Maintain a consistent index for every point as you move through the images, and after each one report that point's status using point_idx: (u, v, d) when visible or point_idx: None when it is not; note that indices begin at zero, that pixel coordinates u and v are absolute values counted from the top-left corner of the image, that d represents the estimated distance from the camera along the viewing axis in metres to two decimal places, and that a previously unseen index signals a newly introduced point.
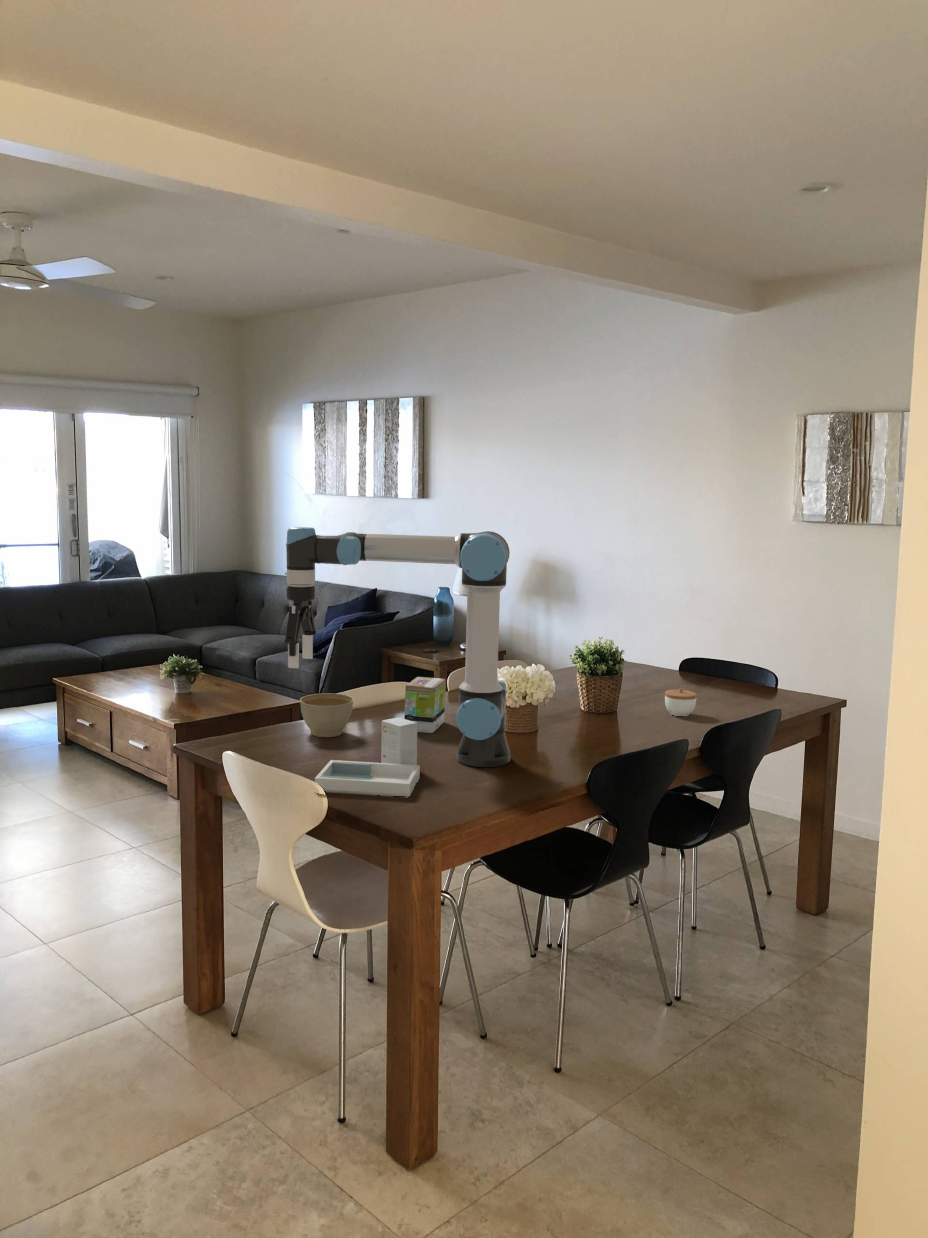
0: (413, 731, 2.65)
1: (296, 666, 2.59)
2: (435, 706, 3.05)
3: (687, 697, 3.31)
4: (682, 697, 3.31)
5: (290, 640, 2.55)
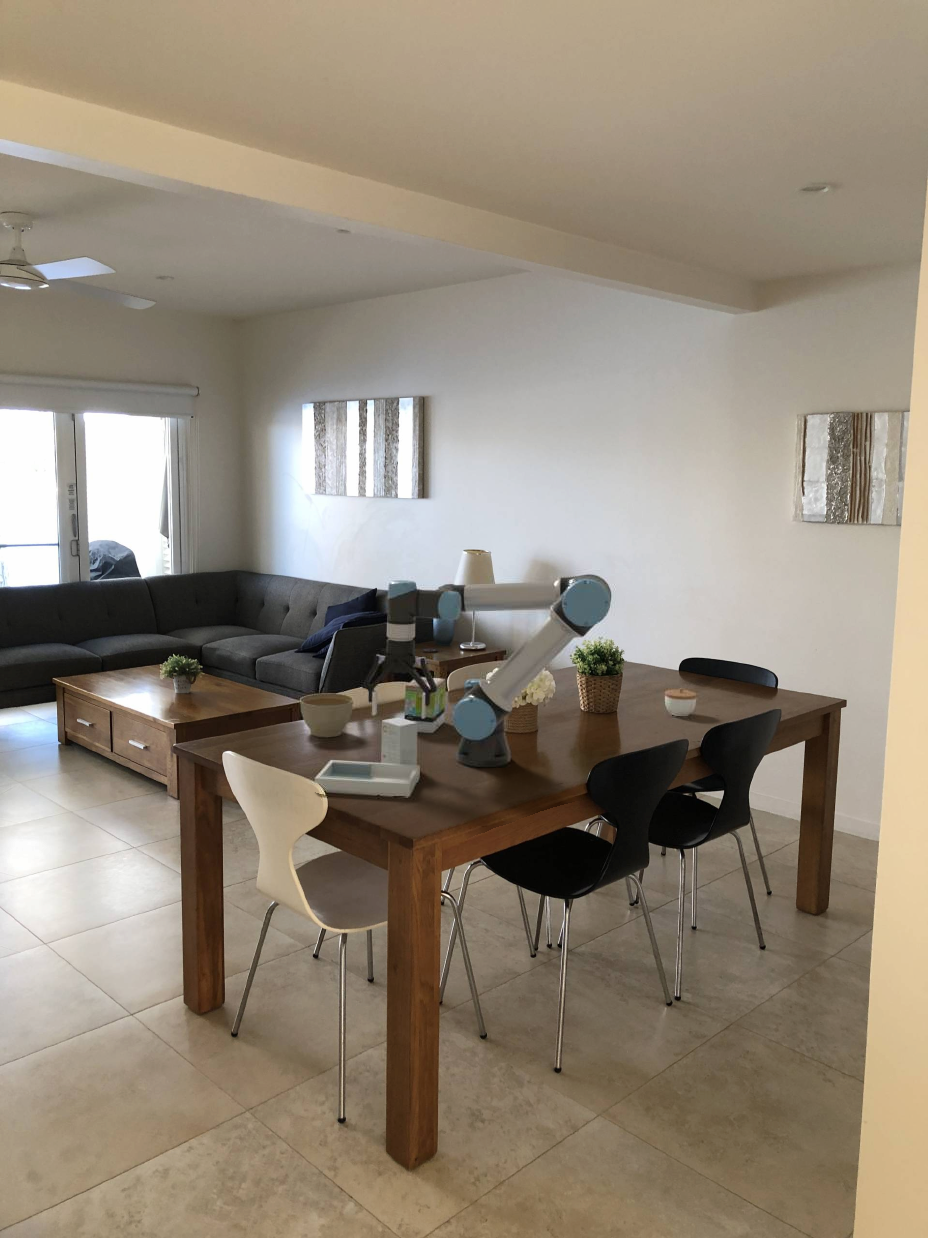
0: (413, 731, 2.65)
1: (372, 713, 2.66)
2: (435, 706, 3.05)
3: (687, 697, 3.31)
4: (682, 697, 3.31)
5: None
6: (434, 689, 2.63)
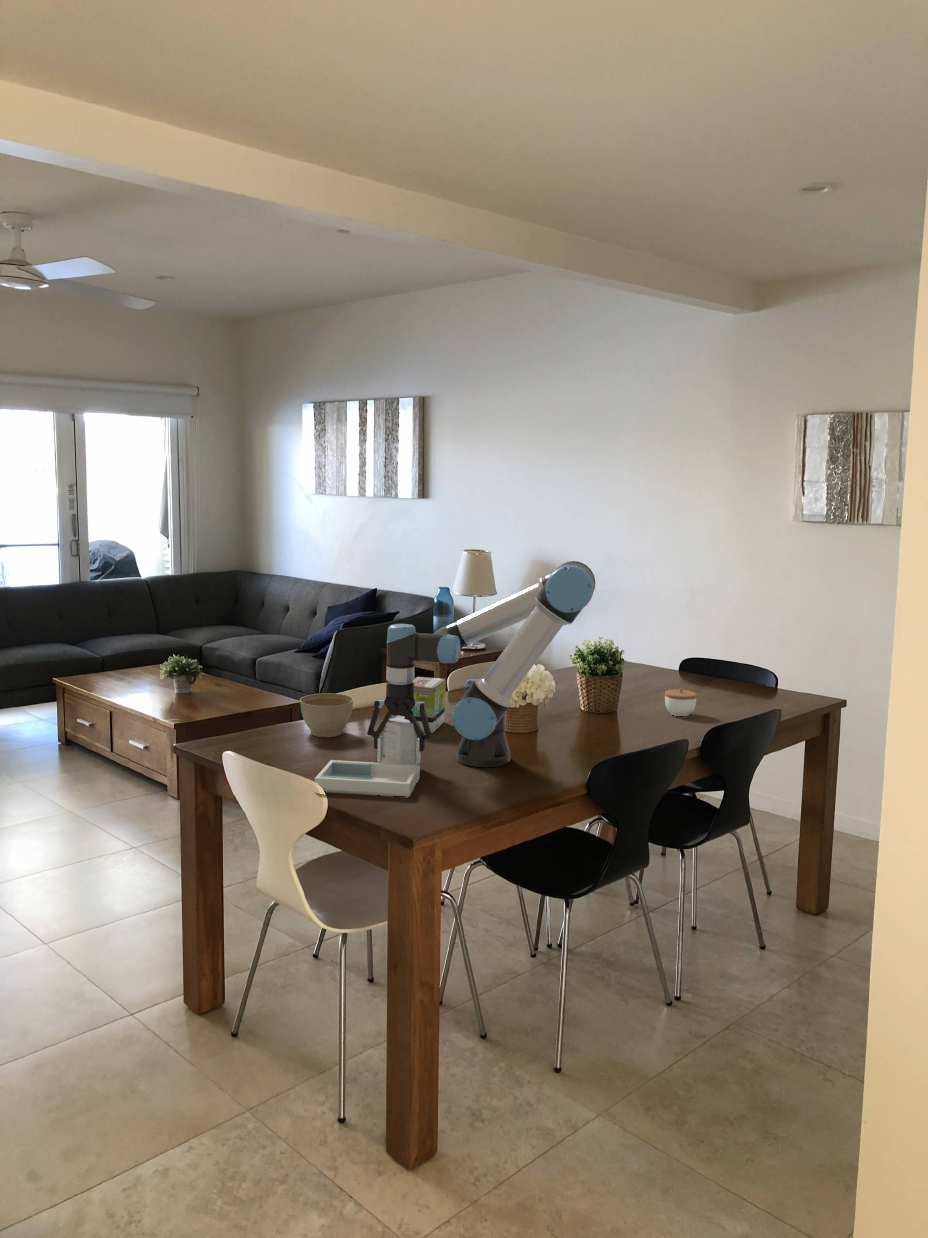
0: (413, 731, 2.65)
1: None
2: (435, 706, 3.05)
3: (687, 697, 3.31)
4: (682, 697, 3.31)
5: None
6: (428, 735, 2.65)
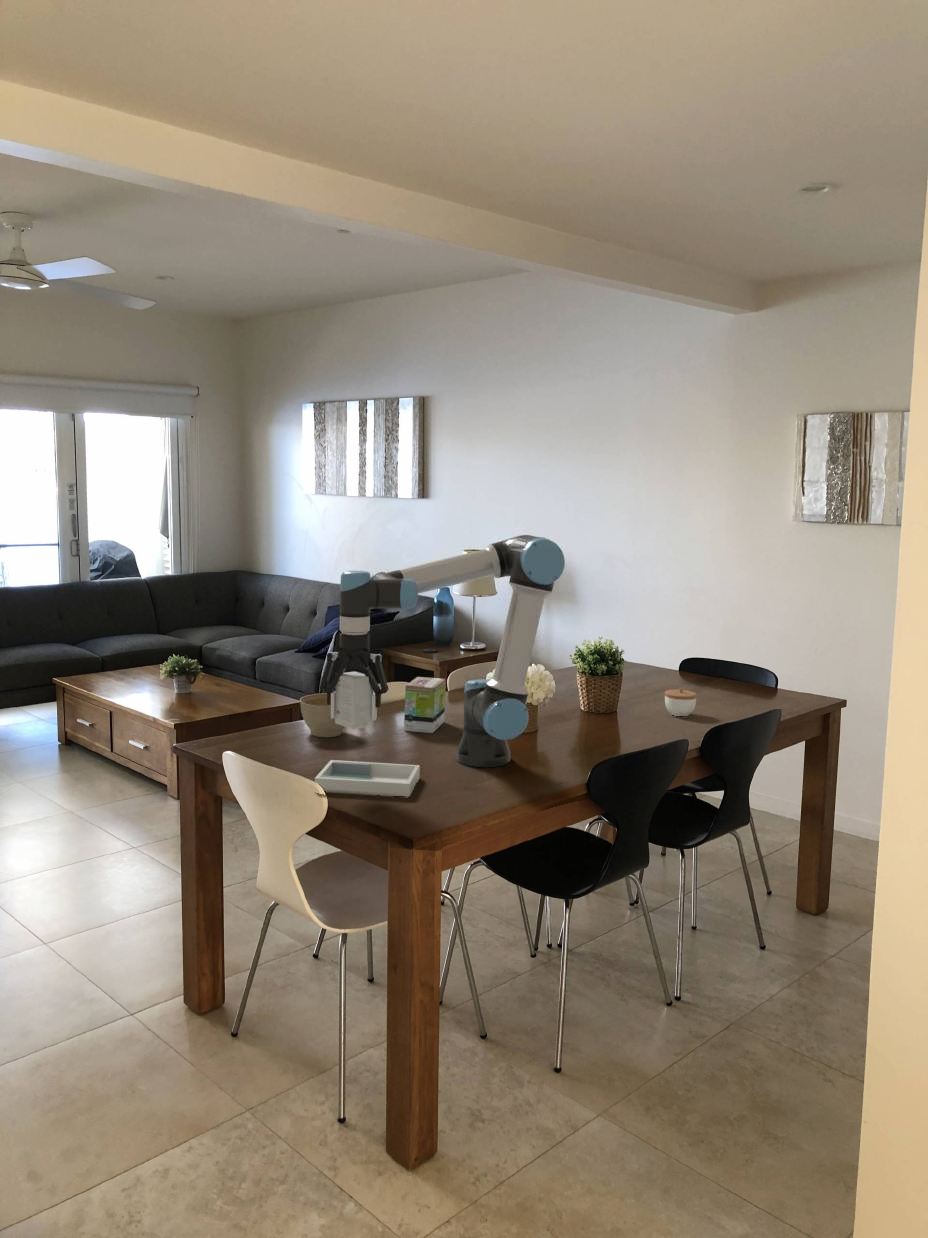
0: (368, 685, 2.48)
1: None
2: (435, 706, 3.05)
3: (687, 697, 3.31)
4: (682, 697, 3.31)
5: None
6: (385, 690, 2.48)
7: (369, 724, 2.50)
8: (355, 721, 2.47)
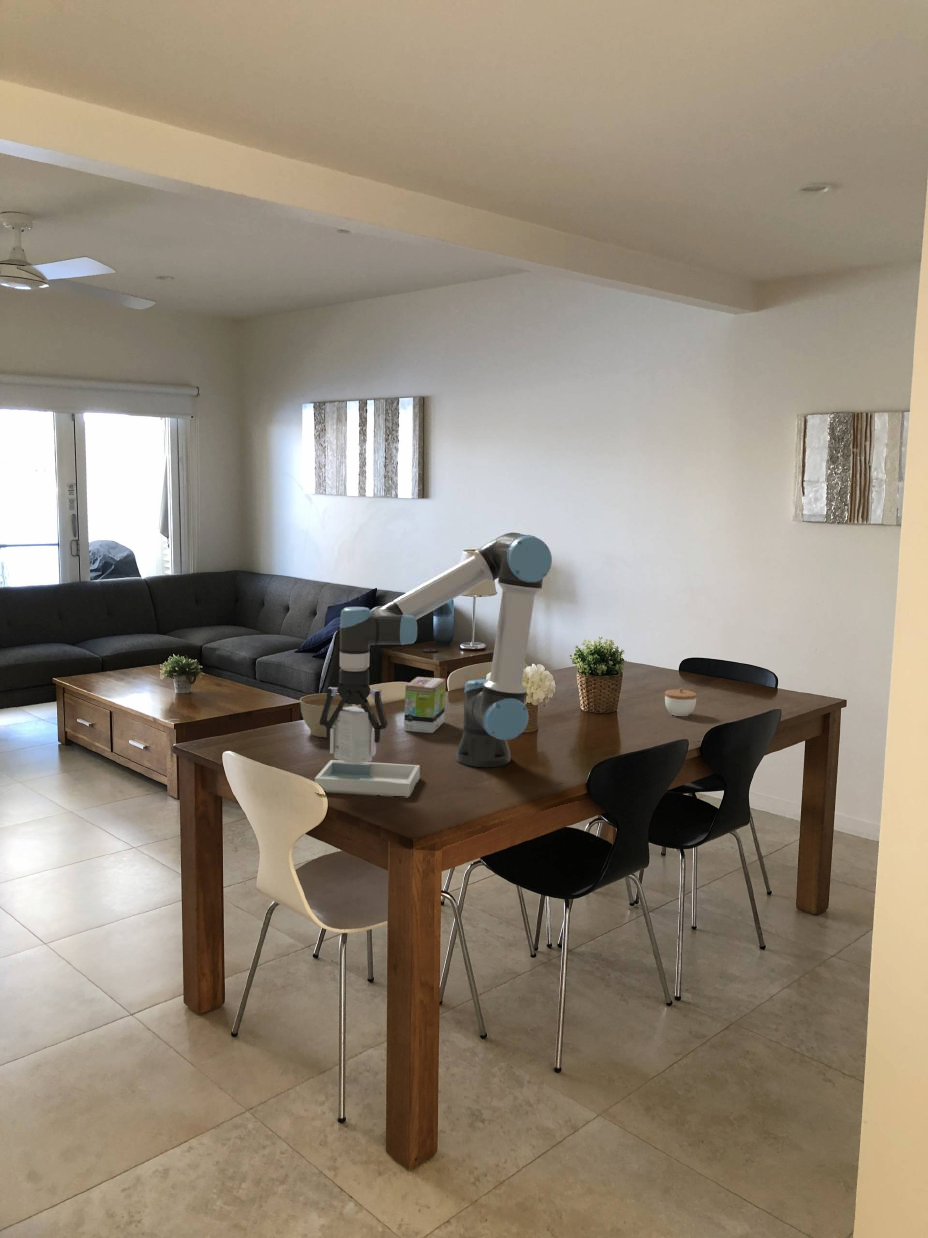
0: (368, 720, 2.50)
1: None
2: (435, 706, 3.05)
3: (687, 697, 3.31)
4: (682, 697, 3.31)
5: None
6: (384, 725, 2.49)
7: (368, 760, 2.51)
8: (354, 756, 2.48)
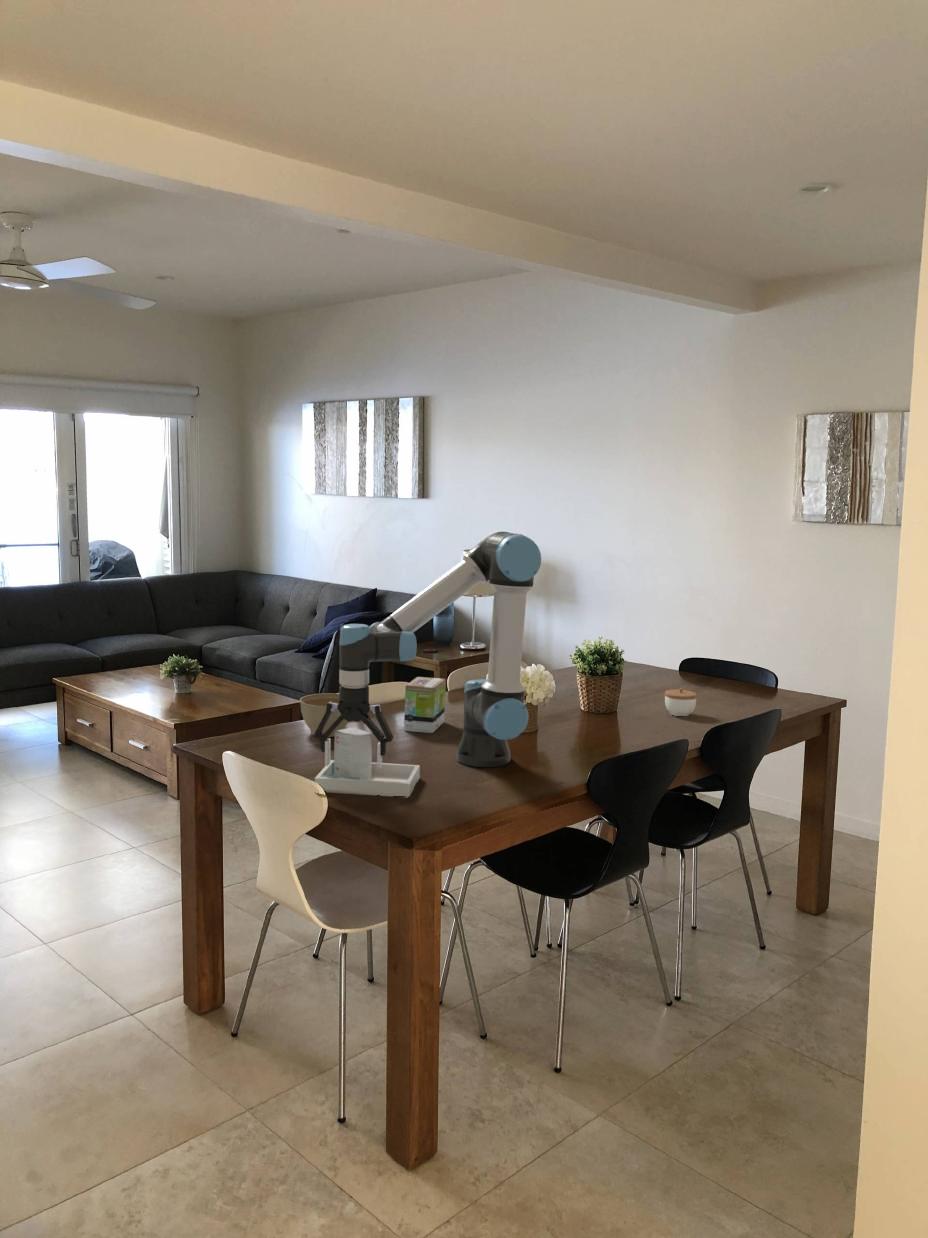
0: (367, 742, 2.50)
1: None
2: (435, 706, 3.05)
3: (687, 697, 3.31)
4: (682, 697, 3.31)
5: None
6: (389, 738, 2.50)
7: None
8: None
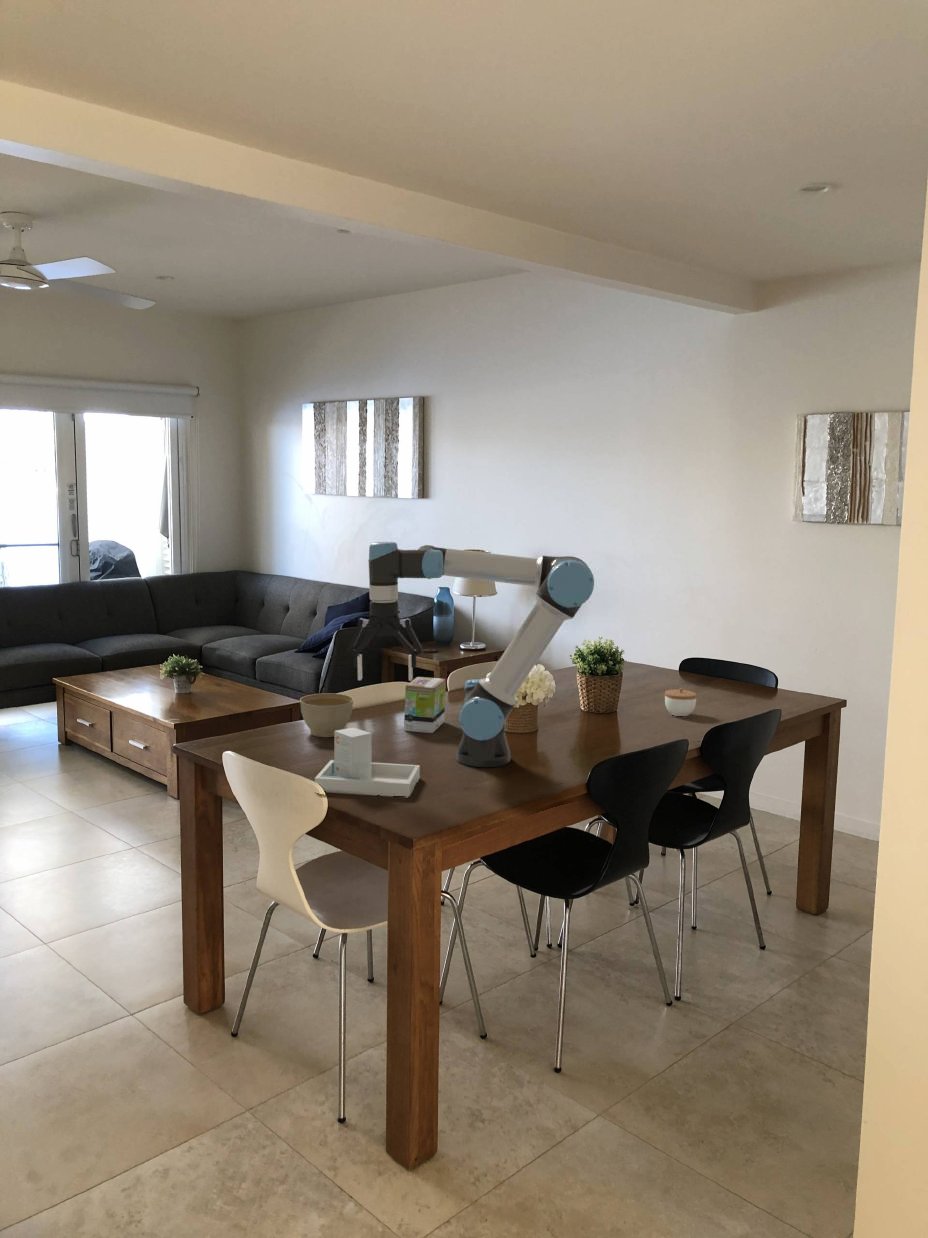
0: (367, 742, 2.50)
1: (358, 678, 2.62)
2: (435, 706, 3.05)
3: (687, 697, 3.31)
4: (682, 697, 3.31)
5: None
6: (420, 650, 2.60)
7: None
8: None
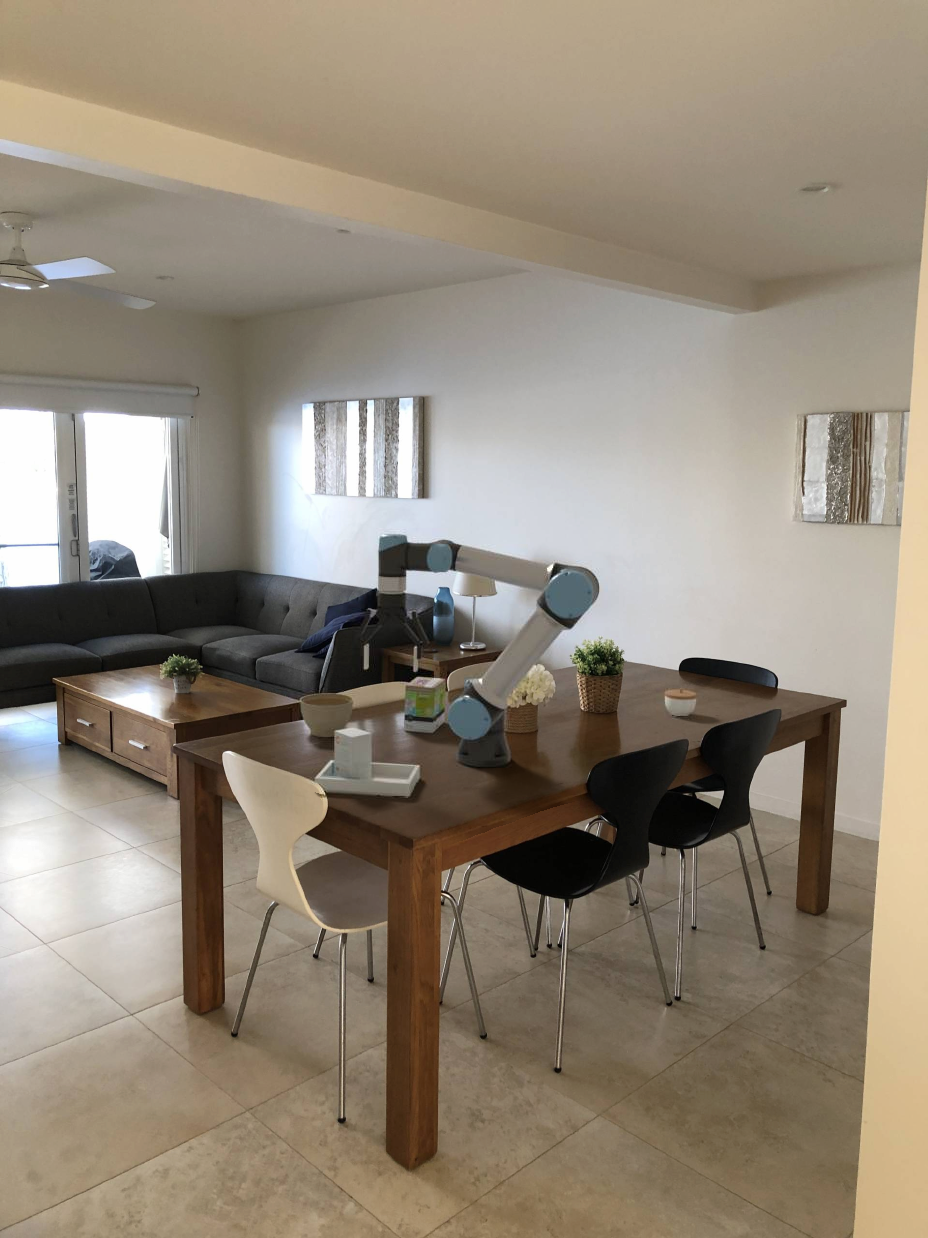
0: (367, 742, 2.50)
1: (364, 667, 2.67)
2: (435, 706, 3.05)
3: (687, 697, 3.31)
4: (682, 697, 3.31)
5: None
6: (426, 642, 2.63)
7: None
8: None
